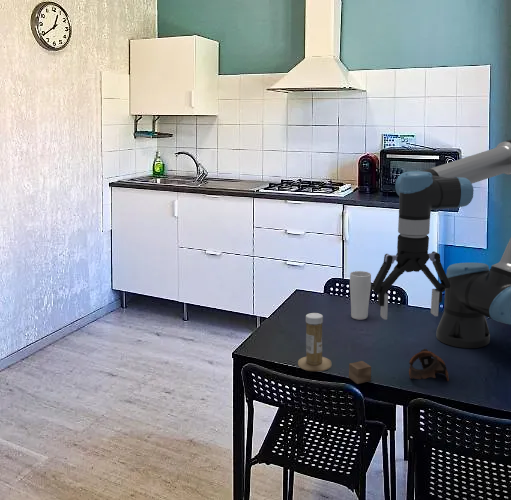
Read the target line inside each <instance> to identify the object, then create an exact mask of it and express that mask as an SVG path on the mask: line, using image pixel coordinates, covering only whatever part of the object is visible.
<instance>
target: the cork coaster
mask: <svg viewBox="0 0 511 500" xmlns="http://www.w3.org/2000/svg"><path fill="white" fill-rule="evenodd" d="M297 366H298V367H299V368H300V369H302V370H303V371H304V370H305V371H308V372H323V371H328V370H329V369H330V368H332V360H331V359H329V358H327V357H325V356H322V363H321V364H319V365H310V364H308V363H307V362H306V356H303V357H300V358H299V359H298V361H297Z"/></svg>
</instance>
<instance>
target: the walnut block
mask: <svg viewBox="0 0 511 500" xmlns="http://www.w3.org/2000/svg"><path fill="white" fill-rule="evenodd" d="M348 364H349V365H348V378H349V379H350V380H351V381H352V382H354V383H355V384H357V385H359V384H364V383H368V382H371V380H372V366H371V365H370V364H368V363H366V362H365V361H363V360H358V361H355V362H351V363H348Z"/></svg>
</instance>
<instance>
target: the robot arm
mask: <svg viewBox="0 0 511 500" xmlns="http://www.w3.org/2000/svg"><path fill="white" fill-rule="evenodd" d="M503 174H505V175H511V138H510V139H509V140H508V139H507V140H505V141H501V142H499V143H498V144H497V145H496V147H494V148H491V149H487V150H485V151H481V152H479V153H476V154H472V155H469V156H465V157H463V158H460V159H457V160H453V161H450V162H447V163H444V164H440V165H437V166H434V167H431V168H428V169H425V170H424V169H423V170H417V171H415V170H412V171H411V170H409V171H405V172H402V173H401V174H400V175H398V177H397V178H396V180H395V185H394V186H395V192H396V194H397V196H399V200H398V202H399V203H398V204H399V205H398V224H397V225H398V227H397V232H398V235H397V244H396V245H397V247H396V248H397V249H396V250H397V251H396V254H394V255H393V254H389V253H384V257H383V262H382V264H381V265H380V268H379V270H378V272H377V274H376V276H375V278H374V279H373V281H372V282H371V289H370V290H372V291H373V292H375V293H377V304H378V306H379V307H380V314H379V315H380V318H382V319H383V320H388V309H389V307H388V306H389V294H388V293H387V292H388V290H390V288H391V287H392V286H393V284H394V283H395V282H396V281H397V280H398V279H399V277H400V276H401V275H403V274H404V273H405V272H406V273H411V272H416V273H419V272H420V271H421V272H422V273H423V274H424V275H425V277H426V278H427V279H428V280H429V282H430V283H431V284H432V286H433V287H434V288H432V289H431V303H430V314H432V315H433V316H434V317H439V309H440V308H439V307H440V306H439V305H440V303H442V302H443V301H444V306H443V307H444V308H443V314H442V316H441V319H440V321H439V323H438V324H437V325H438V326H437V328H436V332H435V334H436V336H435V337H436V339H437V340H438V341H439V342H440V343H442V344H445V345H447V346H452V347H456V348H463V349H477V348H483V347H486V346H488V345H489V344H490V341H491V339H490V338H491V334H490V330H489V326H488V322H487V318H490V319H491V320H494V321H496V322H498V323H502V324H505V325H511V237H510V238H509V241H508V243H507V245H506V247H505V249H504V252H503V254H502V256H501V258H500V260H499V262H497V263H495V264H492V265H491V267H489V265H488V264H487V263H483V262H459V263H458V262H457V263H453V264H450V265H449V266H448V267H447V269H446V271H445V269H444V267H443V264H442V262H441V254H440V253H438V252H436V251H432V252H430V253H429V246H430V245H429V244H430V243H429V241H430V237H429V234H430V227H431V224H430V223H431V214H432V213H431V212H432V211H431V210H444V209H458V208H463V207H467V206H468V205H469V204H471V202H472V200H473V198H474V186H473V184H475V183H478V182H482V181H484V180H486V179H490V178H494V177H497V176H500V175H503ZM395 261H396V262H397V263H396V265H395V266H394V267H393V270H392V271H391V272H390V270H391V268H392V265H393V264H395ZM428 261H431V263H432V264H433V267H434V270H435V272H436V274H437V276H438V278H439V279H438V278H436V277H435V275H434V274H433V273H432V271H431V269H430V268H429V267H428V265H426V264H427V262H428ZM439 281H440V282H439ZM443 293H444V300H443ZM486 317H487V318H486Z"/></svg>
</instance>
